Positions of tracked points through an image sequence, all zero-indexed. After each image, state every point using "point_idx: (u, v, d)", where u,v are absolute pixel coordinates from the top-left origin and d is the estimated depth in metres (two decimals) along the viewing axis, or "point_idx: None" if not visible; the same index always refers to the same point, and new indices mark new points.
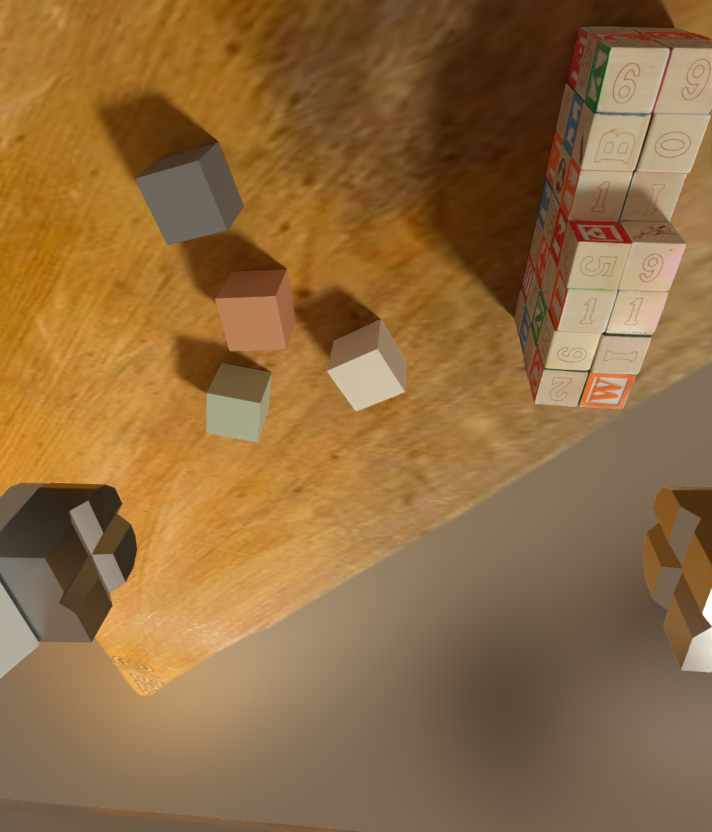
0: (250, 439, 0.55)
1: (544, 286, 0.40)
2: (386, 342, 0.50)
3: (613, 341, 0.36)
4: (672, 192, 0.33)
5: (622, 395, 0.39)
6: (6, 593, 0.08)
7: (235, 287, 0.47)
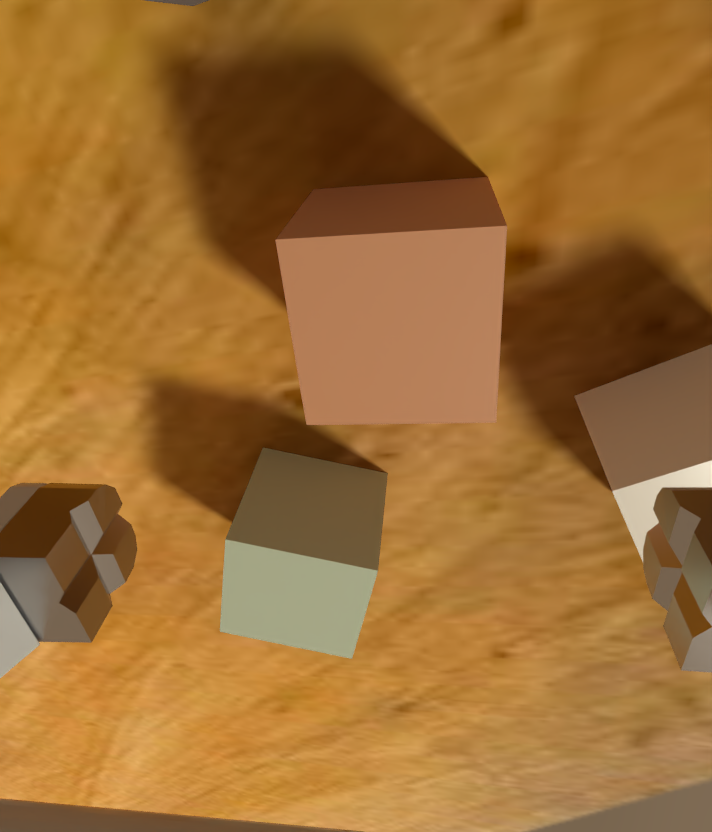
0: (334, 651, 0.21)
1: None
2: None
3: None
4: None
5: None
6: (6, 593, 0.08)
7: (341, 215, 0.14)
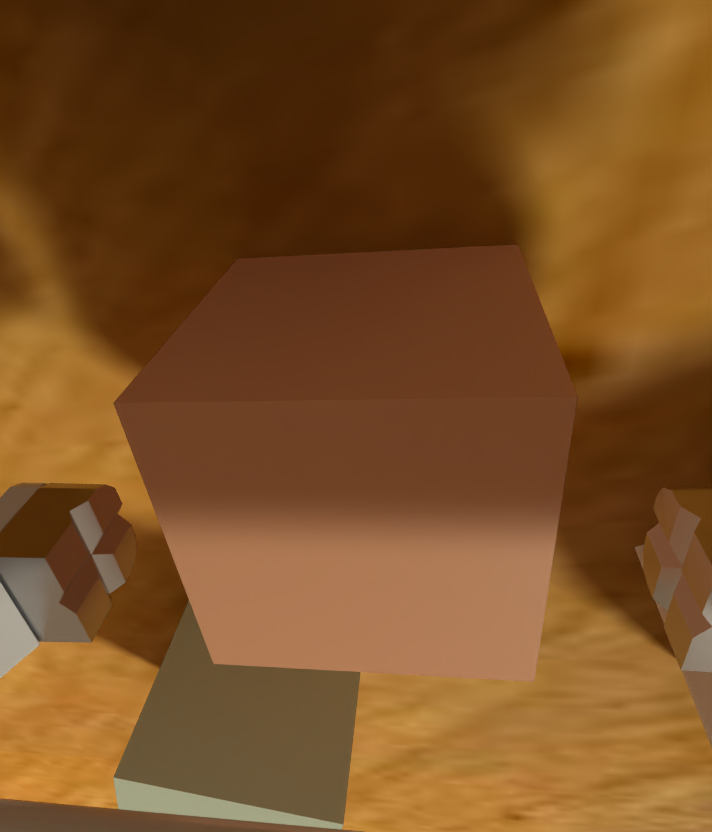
0: None
1: None
2: None
3: None
4: None
5: None
6: (6, 593, 0.08)
7: (259, 332, 0.08)
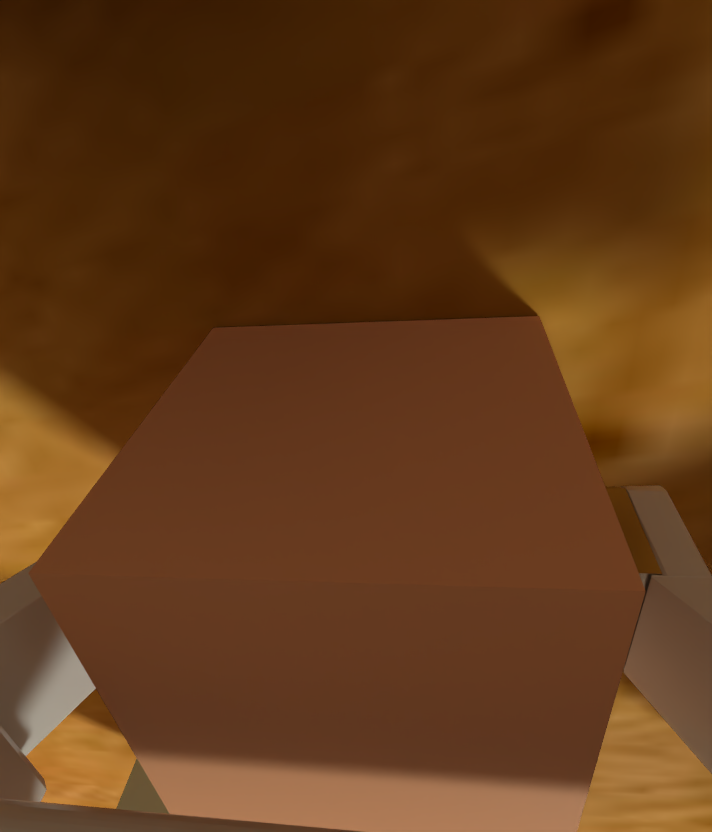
0: None
1: None
2: None
3: None
4: None
5: None
6: None
7: (228, 452, 0.06)
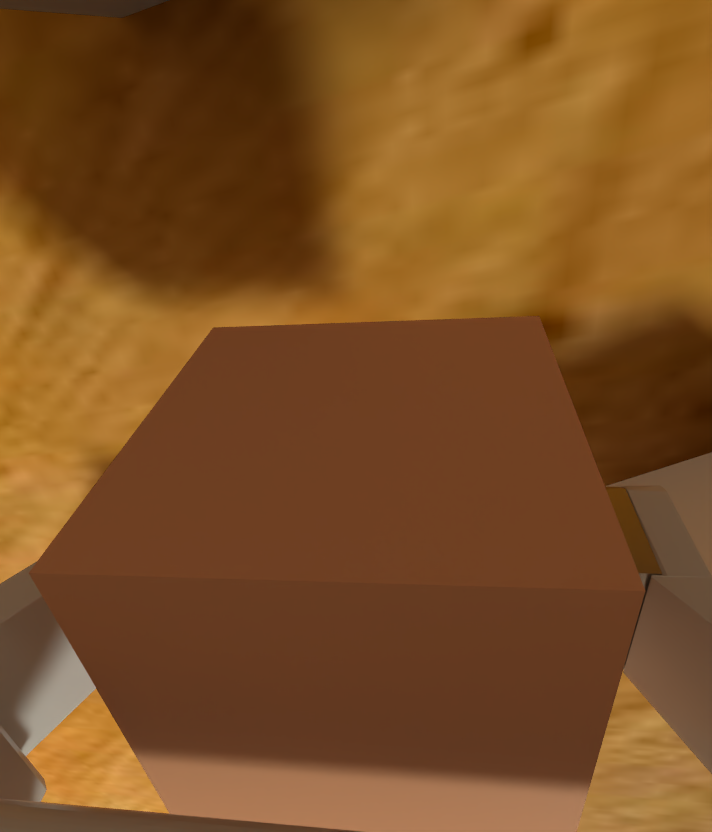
0: None
1: None
2: None
3: None
4: None
5: None
6: None
7: (228, 451, 0.06)
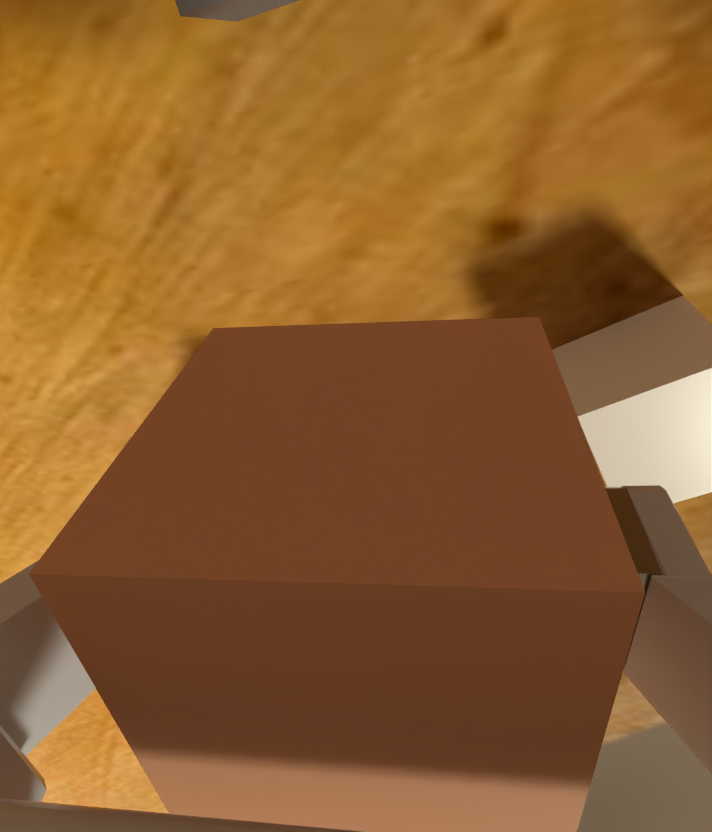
0: None
1: None
2: None
3: None
4: None
5: None
6: None
7: (228, 452, 0.06)
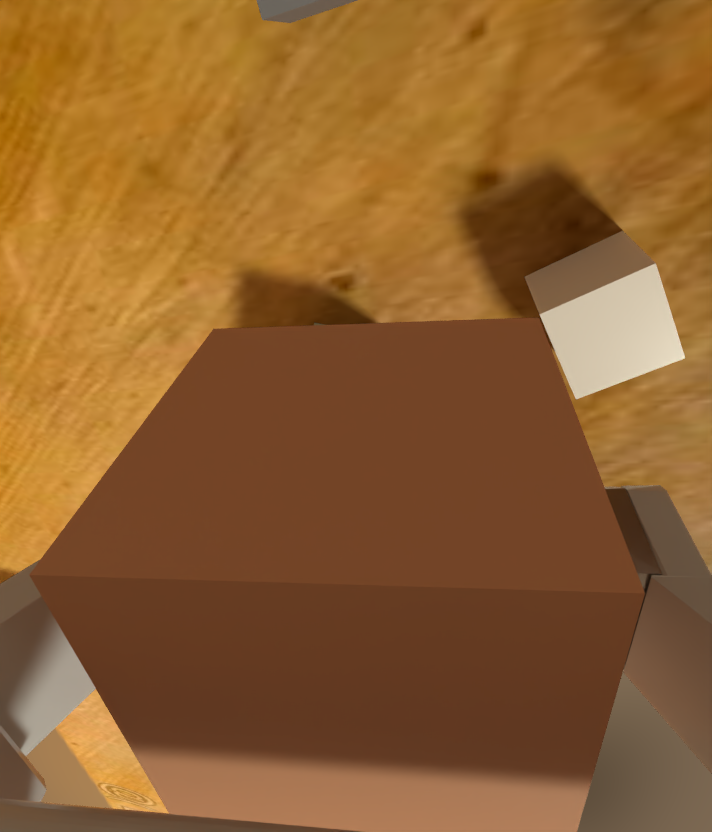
0: None
1: None
2: None
3: None
4: None
5: None
6: None
7: (229, 453, 0.06)
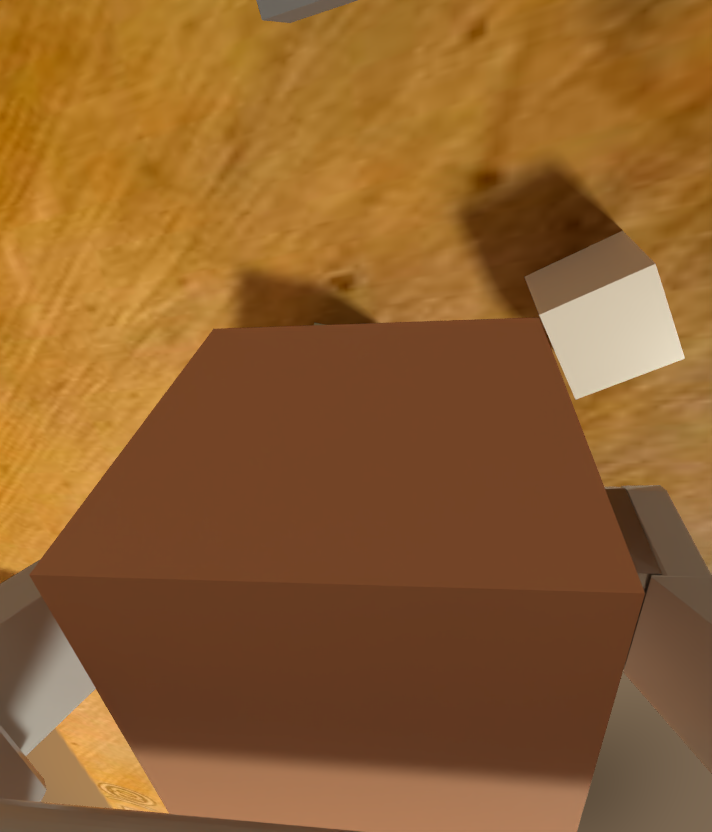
0: None
1: None
2: None
3: None
4: None
5: None
6: None
7: (229, 453, 0.06)
